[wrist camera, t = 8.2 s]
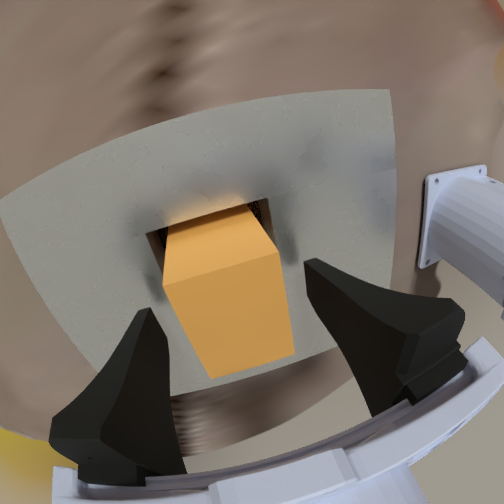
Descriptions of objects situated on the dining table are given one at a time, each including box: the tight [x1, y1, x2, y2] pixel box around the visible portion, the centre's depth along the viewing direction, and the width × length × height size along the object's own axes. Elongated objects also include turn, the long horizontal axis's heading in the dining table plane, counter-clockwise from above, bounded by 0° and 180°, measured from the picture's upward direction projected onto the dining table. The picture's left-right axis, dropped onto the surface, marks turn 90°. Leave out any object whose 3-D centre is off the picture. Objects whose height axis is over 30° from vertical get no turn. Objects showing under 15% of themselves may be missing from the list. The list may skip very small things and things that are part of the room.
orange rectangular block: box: [162, 203, 295, 379], centre depth 13 cm, size 4×6×6 cm
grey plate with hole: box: [0, 89, 396, 396], centre depth 14 cm, size 20×16×2 cm
